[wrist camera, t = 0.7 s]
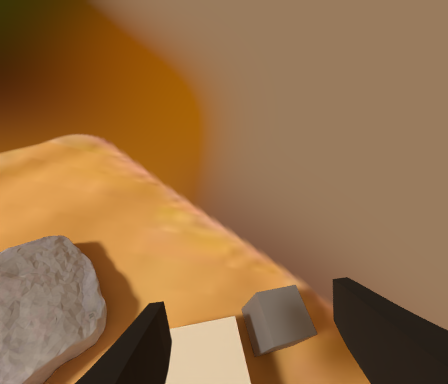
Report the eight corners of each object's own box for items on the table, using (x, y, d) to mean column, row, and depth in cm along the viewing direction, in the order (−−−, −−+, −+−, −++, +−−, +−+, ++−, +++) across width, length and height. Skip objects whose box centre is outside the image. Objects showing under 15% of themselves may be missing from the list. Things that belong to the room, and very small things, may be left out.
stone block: (70, 247, 27) (-59, 297, 20) (70, 221, 25) (-80, 268, 17) (122, 334, 23) (-17, 437, 16) (129, 315, 20) (-35, 429, 13)
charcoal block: (292, 345, 24) (317, 334, 21) (254, 357, 23) (274, 346, 19) (276, 301, 27) (295, 284, 23) (241, 309, 25) (256, 292, 22)
